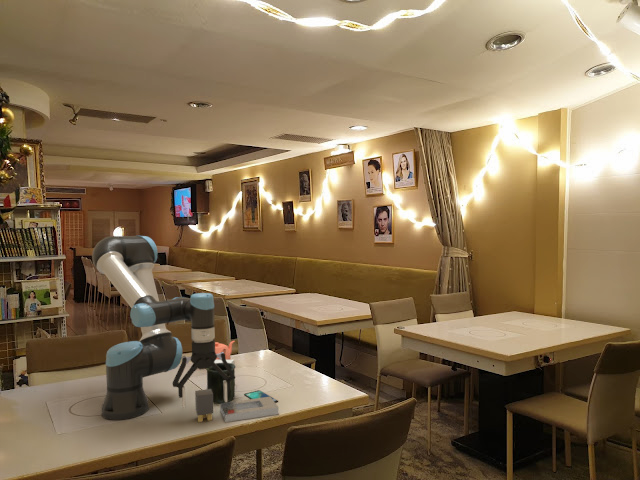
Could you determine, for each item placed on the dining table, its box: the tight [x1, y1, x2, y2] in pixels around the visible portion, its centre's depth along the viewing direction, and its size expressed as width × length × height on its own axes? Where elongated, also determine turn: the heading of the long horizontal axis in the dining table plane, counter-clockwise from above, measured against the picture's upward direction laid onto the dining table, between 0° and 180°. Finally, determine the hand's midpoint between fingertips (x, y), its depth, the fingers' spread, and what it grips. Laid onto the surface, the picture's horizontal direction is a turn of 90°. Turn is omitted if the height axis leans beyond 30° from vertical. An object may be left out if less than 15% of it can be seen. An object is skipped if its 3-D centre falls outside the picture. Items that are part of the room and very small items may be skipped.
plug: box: [194, 388, 214, 423], centre depth 157 cm, size 5×5×9 cm
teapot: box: [215, 340, 236, 360], centre depth 218 cm, size 14×14×11 cm
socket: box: [219, 396, 279, 423], centre depth 162 cm, size 18×11×3 cm, turn 111°
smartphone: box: [243, 390, 279, 404], centre depth 176 cm, size 7×1×15 cm
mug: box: [205, 363, 236, 404], centre depth 177 cm, size 11×15×12 cm
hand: (205, 403), depth 156 cm, fingers open, 13 cm apart
